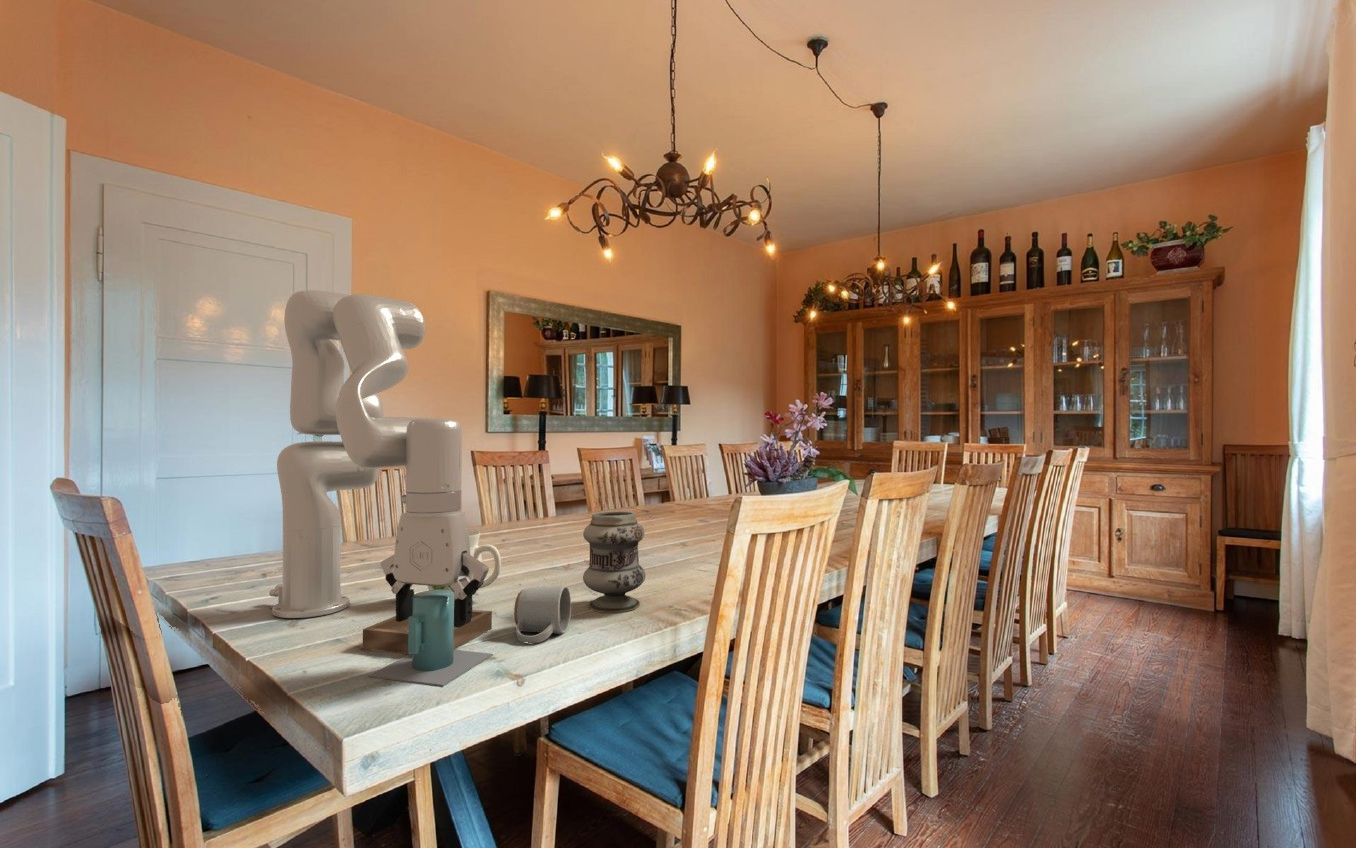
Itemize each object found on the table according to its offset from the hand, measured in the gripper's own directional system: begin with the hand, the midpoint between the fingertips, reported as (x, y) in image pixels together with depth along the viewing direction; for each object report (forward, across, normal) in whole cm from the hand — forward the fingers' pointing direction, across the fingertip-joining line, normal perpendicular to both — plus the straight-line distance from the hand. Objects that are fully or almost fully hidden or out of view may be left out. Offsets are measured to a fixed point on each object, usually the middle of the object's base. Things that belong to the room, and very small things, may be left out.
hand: (433, 621), depth 91 cm
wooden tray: (+6, -8, +10) cm, 14 cm away
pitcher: (+6, -18, +32) cm, 37 cm away
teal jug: (+6, 0, 0) cm, 6 cm away
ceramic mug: (+7, +8, +17) cm, 20 cm away
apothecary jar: (+6, +14, +36) cm, 39 cm away
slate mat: (+6, 0, 0) cm, 6 cm away
